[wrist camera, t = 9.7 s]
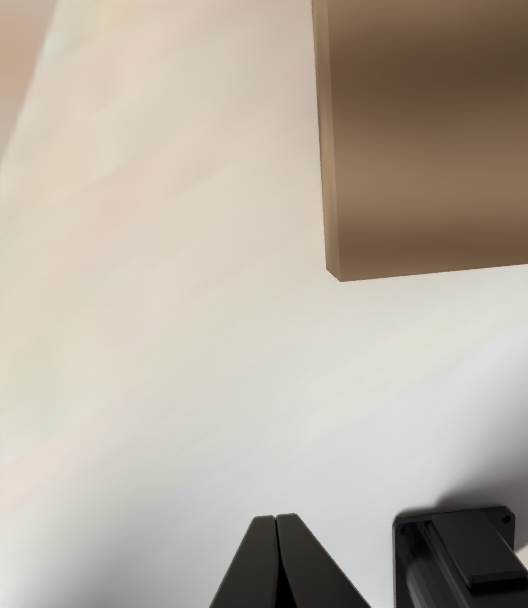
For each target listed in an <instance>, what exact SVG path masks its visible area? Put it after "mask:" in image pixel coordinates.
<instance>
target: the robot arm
mask: <svg viewBox="0 0 528 608" xmlns="http://www.w3.org/2000/svg"><path fill="white" fill-rule="evenodd" d="M503 516H505V517H504V518H502V517H503ZM402 527H405V528H404V529H401V528H402ZM514 533H515V515H514V514H513V512H512V511H511V510H510V509H509V508H508V507H506V506H500V507H491V508H482V509H473V510H464V511H455V512H446V513H437V514H429V515H420V516H411V517H402V518H398V519H396V520H395V521H394V522H393V525H392V541H393V588H394V608H528V571H527V569H526V568H525V567H524V565H523V564H522V563H521V561H520V560H519V559H518V557H517V556H516V555H515V553H514V552H513V550H514ZM209 608H371V606H370V605H369V604H368V603H367V601H366V600H365V599H364V598H363V596H362V595H361V594H360V593H359V591H358V590H357V589H356V587H355V586H354V585H353V584H352V582H351V581H350V580H349V579H348V577H347V576H346V575H345V574H344V572H343V571H342V570H341V569H340V567H339V566H338V565H337V564H336V562H335V561H334V560H333V559H332V557H331V556H330V555H329V554H328V552H327V551H326V550H325V549H324V547H323V546H322V545H321V543H320V542H319V541H318V540H317V538H316V537H315V536H314V535H313V533H312V532H311V531H310V530H309V528H308V527H307V526H306V525H305V523H304V522H303V521H302V520H301V518H300V517H299V516H298V515H297V514H295V513H290V514H279V515H277V516H276V521H275V517H274V516H273V515H268V516H257V517H254V518H253V520H252V521H251V523H250V525H249V527H248V529H247V532H246V534H245V536H244V538H243V540H242V542H241V544H240V546H239V548H238V550H237V552H236V554H235V556H234V558H233V560H232V562H231V564H230V566H229V568H228V570H227V572H226V574H225V576H224V578H223V580H222V582H221V584H220V586H219V588H218V590H217V592H216V594H215V596H214V599H213V601H212V603H211V605H210V607H209Z"/></svg>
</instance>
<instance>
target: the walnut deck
mask: <svg viewBox="0 0 528 608" xmlns="http://www.w3.org/2000/svg"><path fill="white" fill-rule="evenodd" d="M312 14H313V32H314V51H315V69H316V87H317V106H318V124H319V142H320V161H321V179H322V197H323V216H324V234H325V252H326V269H327V270H328V271H329V272H330V273H331V274H332V275H333V276H334V277H335V278H337V279H338V280H339V281H340V282H346V281H356V280H366V279H376V278H387V277H397V276H407V275H418V274H428V273H438V272H449V271H459V270H469V269H479V268H490V267H500V266H510V265H521V264H528V0H312Z"/></svg>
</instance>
